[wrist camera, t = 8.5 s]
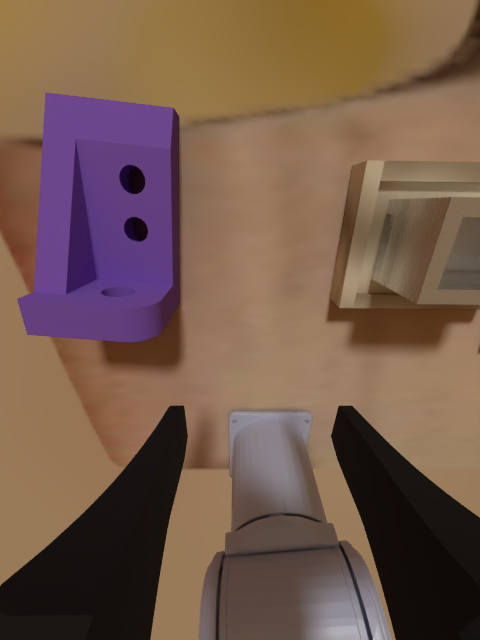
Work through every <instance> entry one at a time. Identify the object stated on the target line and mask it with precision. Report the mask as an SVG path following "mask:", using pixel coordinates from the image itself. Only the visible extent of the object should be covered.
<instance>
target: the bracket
mask: <svg viewBox="0 0 480 640" xmlns="http://www.w3.org/2000/svg"><path fill="white" fill-rule="evenodd" d="M44 114H45V115H44V131H43V148H42V165H41V182H40V199H39V217H38V234H37V251H36V269H35V286H34V292H33V293H31V294H28V295H26V296H24V297H21V298H19V299H18V304H19V307H20V311H21V314H22V317H23V321H24V324H25V328H26V331H27V334H28V335H38V336H51V337H64V338H76V339H89V340H102V341H115V342H139V341H145V340H148V339H151V338H154V337H156V336H158V335H159V334H160V333H161V332H162V331H163V330H164V328H165V326H166V325H167V323H168V321H169V320H170V318H171V316H172V315H173V313H174V311H175V310H176V308H177V306H178V305H179V303H180V298H179V131H178V125H180V117H179V115H178V114H177V112H176V111H175V109H174V108H170V107H161V106H153V105H145V104H136V103H128V102H120V101H111V100H102V99H94V98H86V97H77V96H69V95H61V94H53V93H46V97H45V113H44ZM135 166H136V167H138V168H139V169H140V170H141V171H142V173H143V174H144V177H145V187H144V189H143V191H142V192H140V193H138V194H134V193H133V192H132V190H131V188H130V186H129V174H130V171H131V170H132V169H133V168H134V167H135ZM134 217H138V218H140V219H142V220H143V221H144V222H145V224H146V225H147V228H148V235H147V237H146V239H145V240H144V241H142V240H140V239H139V238H138V237H137V236H136V235H135V233H134V231H133V228H132V221H133V218H134Z"/></svg>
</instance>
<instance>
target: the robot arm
mask: <svg viewBox="0 0 480 640" xmlns="http://www.w3.org/2000/svg"><path fill="white" fill-rule="evenodd" d="M234 420H235V421H234ZM305 420H306V421H305ZM311 420H312V416H311V413H310V412H293V411H232V412H231V413H230V414H229V467H230V477H232V522H231V523H232V524H231V532H228V533H226V537H225V551H222V552H217V553H216V554H215V556H214V558H213V560H212V562H211V563H210V565H209V566H208V568H207V571H206V574H205V578H204V584H203V590H202V597H201V608H200V622H199V640H392V638H391V634H390V630H389V627H388V624H387V620H386V617H385V613H384V610H383V607H382V604H381V601H380V598H379V595H378V593H377V590H376V587H375V585H374V582H373V579H372V577H371V575H370V572H369V570H368V567H367V565H366V563H365V561H364V559H363V558H362V556H361V555H360V553H359V552H358V551H357V550H355V549H354V548H353V547H352V545H351V544H350V543H349V542H348V541H339V542H338V539H337V536H336V532H335V529H334V525H333V524H332V523H327V520H326V516H325V513H324V509H323V506H322V502H321V499H320V495H319V491H318V488H317V484H316V481H315V477H314V474H313V470H312V466H311V463H310V459H309V456H308V452H307V443H308V437H309V431H310V426H311ZM187 437H188V435H187V427H186V418H185V410H184V406H170V407H169V408H168V409H167V411H166V413H165V414H164V416H163V418H162V419H161V421H160V422H159V424H158V425H157V427H156V428H155V430H154V431H153V432H152V434H151V435H150V437H149V438H148V439H147V441H146V442H145V444H144V445H143V446H142V448H141V449H140V450H139V452H138V453H137V454H136V455H135V457H134V458H133V459H132V460H131V462H130V463H129V464H128V465H127V467H126V468H125V469H124V470H123V471H122V472H121V474H120V475H119V476H118V477H117V478H116V479H115V481H114V482H113V483H112V484H111V485H110V486H109V487H108V488H107V489H106V490H105V492H104V493H103V494H102V495H101V496H100V497H99V498H98V499H97V500H96V501H95V502H94V503H93V504H92V505H91V506H90V507H89V508H88V509H87V510H86V511H85V512H84V513H83V514H82V515H81V516H80V517H79V518H78V519H77V520H76V521H74V522H73V523H72V524H71V525H70V526H69V527H68V528H67V529H66V530H65V531H64V532H62V533H61V534H60V535H59V536H58V537H57V538H56V539H55V540H54V541H53V542H52V543H50V544H49V545H48V546H47V547H46V548H45V549H44V550H42V551H41V552H40V553H39V554H38V555H36V556H35V557H34V558H33V559H32V560H30V561H29V562H28V563H27V564H26V565H24V566H23V567H22V568H21V569H20V570H18V571H17V572H16V573H15V574H14V575H12V576H11V577H10V578H9V579H8V580H6V581H5V582H4V583H3V584H2V585H1V586H0V640H150V637H151V630H152V623H153V616H154V610H155V603H156V596H157V589H158V583H159V577H160V570H161V564H162V558H163V552H164V546H165V540H166V534H167V528H168V523H169V519H170V514H171V510H172V506H173V502H174V498H175V494H176V491H177V486H178V483H179V479H180V475H181V471H182V467H183V463H184V458H185V451H186V444H187ZM331 437H332V441H333V445H334V449H335V452H336V456H337V459H338V462H339V464H340V467H341V469H342V472H343V474H344V477H345V479H346V482H347V484H348V487H349V489H350V492H351V494H352V497H353V499H354V502H355V504H356V507H357V509H358V511H359V514H360V517H361V519H362V522H363V525H364V528H365V531H366V534H367V538H368V541H369V544H370V547H371V551H372V554H373V557H374V561H375V564H376V568H377V571H378V575H379V578H380V581H381V584H382V589H383V592H384V596H385V600H386V603H387V607H388V611H389V615H390V618H391V622H392V626H393V630H394V634H395V638H396V640H480V518H479V517H478V516H476V515H475V514H474V513H472V512H471V511H470V510H468V509H467V508H466V507H464V506H463V505H461V504H460V503H459V502H457V501H456V500H455V499H453V498H452V497H451V496H449V495H448V494H447V493H446V492H444V491H443V490H442V489H441V488H439V487H438V486H437V485H436V484H434V483H433V482H432V481H431V480H429V479H428V478H427V477H426V476H424V475H423V474H422V473H421V472H420V471H419V470H418V469H416V468H415V467H414V466H413V465H412V464H411V463H410V462H409V461H407V460H406V459H405V458H404V457H403V456H402V455H401V454H400V453H399V452H398V451H397V450H395V449H394V448H393V447H392V446H391V445H390V444H389V443H388V442H387V441H386V440H385V439H384V438H383V437H382V436H381V435H380V434H379V433H378V432H377V431H376V430H375V429H374V428H373V427H372V426H371V425H370V424H369V423H368V422H367V421H366V420H365V419H364V418H363V417H362V416H361V415H360V414H359V412H358V411H357V410H356V409H355V408H354V407H353V406H339V407H338V411H337V415H336V419H335V423H334V427H333V431H332V435H331Z"/></svg>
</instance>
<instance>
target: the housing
mask: <svg viewBox="0 0 480 640" xmlns="http://www.w3.org/2000/svg"><path fill="white" fill-rule="evenodd" d="M371 279H372V280H374V281H376V282H378V283H380V284H382V285H383V286H385V287H387V288H389V289H391V290H392V291H394V292H396V293H398V294H400V295H401V296H403V297H405V298H407V299H409V300H410V301H412V302H414V303H416V304H458V305H480V197H441V198H415V199H389V203H388V207H387V212H386V216H385V220H384V224H383V229H382V233H381V237H380V241H379V246H378V250H377V254H376V258H375V263H374V267H373V271H372V276H371Z"/></svg>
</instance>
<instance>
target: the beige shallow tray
mask: <svg viewBox="0 0 480 640" xmlns="http://www.w3.org/2000/svg"><path fill="white" fill-rule="evenodd" d="M441 197H480V162H426V161H365V162H362V163H359V164H356V165H353V166H352V172H351V178H350V184H349V190H348V196H347V201H346V207H345V213H344V219H343V225H342V231H341V237H340V243H339V248H338V254H337V260H336V266H335V272H334V278H333V284H332V290H331V295H330V299H331V300H332V301H333V302H334V303H335V304H336V305H337V306H338V307H339V308H385V309H480V305H458V304H416V303H414V302H412V301H410V300H409V299H407V298H405V297H403V296H401V295H400V294H398V293H396V292H394V291H392V290H391V289H389V288H387V287H385V286H383V285H382V284H380V283H378V282H376V281H374V280H372V279H371V276H372V271H373V267H374V263H375V258H376V254H377V250H378V246H379V241H380V237H381V233H382V229H383V224H384V220H385V216H386V212H387V207H388V203H389V199H415V198H441Z"/></svg>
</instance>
